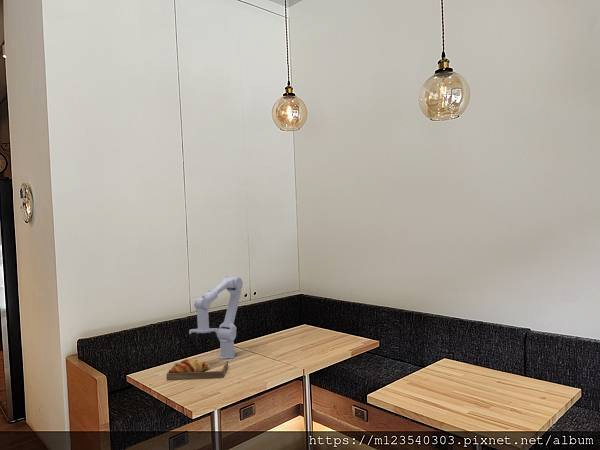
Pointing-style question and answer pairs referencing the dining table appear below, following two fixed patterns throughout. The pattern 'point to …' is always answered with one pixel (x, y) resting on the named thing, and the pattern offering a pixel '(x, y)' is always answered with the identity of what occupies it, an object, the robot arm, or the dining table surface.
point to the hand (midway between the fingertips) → (204, 346)
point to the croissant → (190, 366)
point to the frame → (197, 374)
